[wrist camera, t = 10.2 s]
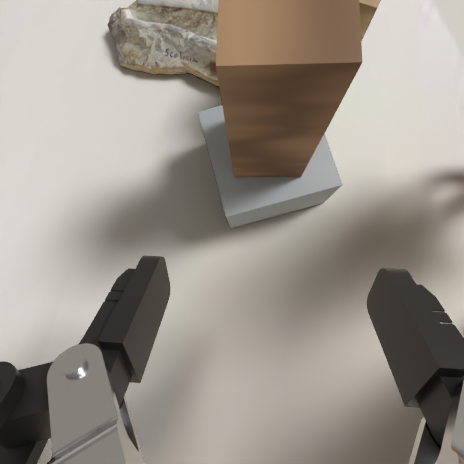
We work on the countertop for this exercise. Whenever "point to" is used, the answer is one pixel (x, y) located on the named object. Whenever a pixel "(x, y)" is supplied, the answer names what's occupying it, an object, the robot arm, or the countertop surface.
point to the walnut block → (283, 78)
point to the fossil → (168, 37)
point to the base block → (265, 179)
